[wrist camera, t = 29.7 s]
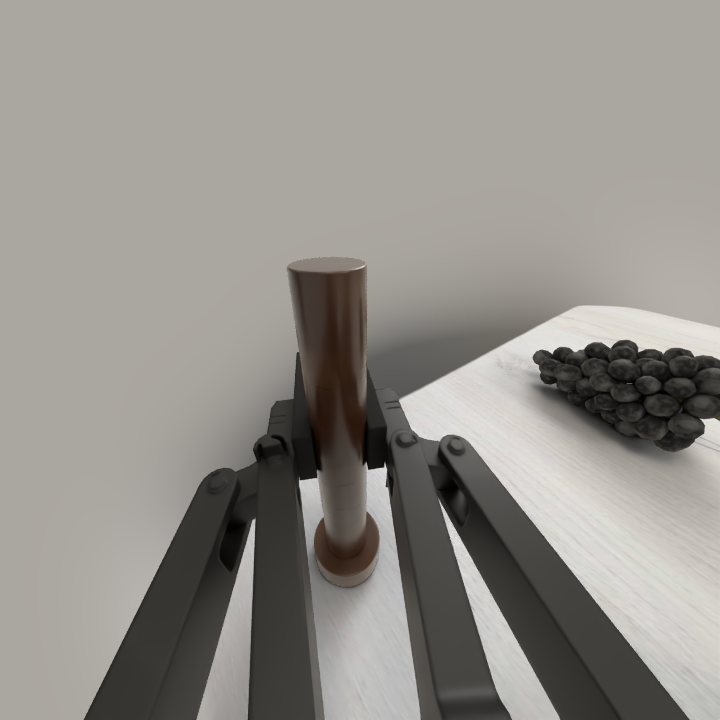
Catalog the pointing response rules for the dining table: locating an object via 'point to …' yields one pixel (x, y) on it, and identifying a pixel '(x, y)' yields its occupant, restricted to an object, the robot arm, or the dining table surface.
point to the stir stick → (337, 408)
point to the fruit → (639, 388)
